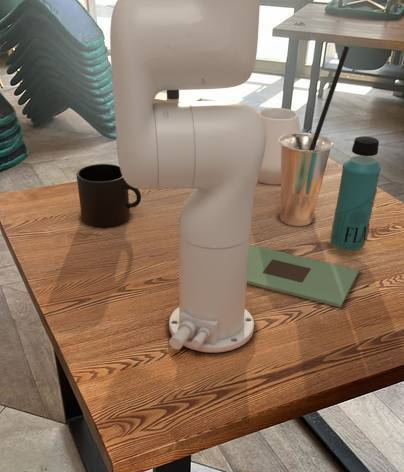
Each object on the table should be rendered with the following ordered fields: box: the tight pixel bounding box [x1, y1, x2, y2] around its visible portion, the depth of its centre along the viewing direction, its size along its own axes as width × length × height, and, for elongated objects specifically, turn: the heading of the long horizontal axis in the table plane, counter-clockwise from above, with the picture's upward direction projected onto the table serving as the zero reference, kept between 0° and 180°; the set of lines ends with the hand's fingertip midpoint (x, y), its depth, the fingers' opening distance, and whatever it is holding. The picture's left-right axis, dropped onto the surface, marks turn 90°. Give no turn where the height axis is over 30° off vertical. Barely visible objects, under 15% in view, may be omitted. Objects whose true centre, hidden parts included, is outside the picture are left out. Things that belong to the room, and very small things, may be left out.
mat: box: [247, 244, 360, 308], centre depth 97 cm, size 12×20×1 cm, turn 65°
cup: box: [257, 107, 301, 186], centre depth 127 cm, size 13×13×14 cm
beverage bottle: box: [329, 135, 382, 252], centre depth 98 cm, size 6×7×20 cm
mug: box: [76, 163, 142, 228], centre depth 111 cm, size 9×12×9 cm
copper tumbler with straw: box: [279, 45, 350, 227], centre depth 105 cm, size 11×11×30 cm
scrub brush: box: [153, 90, 202, 103], centre depth 110 cm, size 5×10×11 cm, turn 65°
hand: (172, 83), depth 110 cm, fingers closed on scrub brush, 2 cm apart
